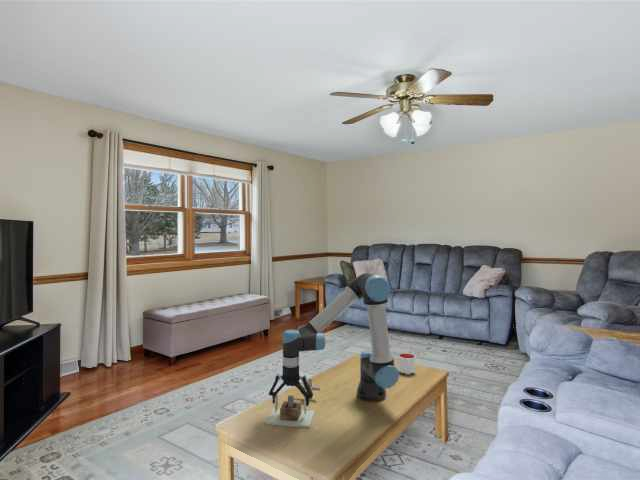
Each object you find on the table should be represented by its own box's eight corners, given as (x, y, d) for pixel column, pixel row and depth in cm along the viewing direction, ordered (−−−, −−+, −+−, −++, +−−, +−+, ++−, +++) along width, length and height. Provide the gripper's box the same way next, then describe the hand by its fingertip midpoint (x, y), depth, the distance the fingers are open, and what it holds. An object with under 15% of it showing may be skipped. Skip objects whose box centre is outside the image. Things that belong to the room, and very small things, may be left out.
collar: (301, 412, 176) (301, 402, 176) (297, 421, 168) (297, 410, 168) (284, 411, 177) (284, 401, 177) (280, 419, 170) (280, 408, 169)
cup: (405, 368, 239) (405, 352, 239) (418, 372, 232) (418, 356, 231) (394, 371, 233) (394, 355, 233) (408, 376, 225) (408, 359, 225)
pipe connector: (317, 403, 189) (317, 383, 189) (298, 401, 191) (298, 381, 191) (321, 394, 199) (321, 375, 199) (303, 393, 201) (303, 374, 201)
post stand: (314, 413, 178) (315, 391, 178) (309, 428, 165) (309, 405, 164) (273, 409, 181) (273, 389, 181) (265, 424, 167) (265, 401, 167)
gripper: (319, 363, 174) (319, 409, 175) (266, 360, 178) (266, 405, 178) (316, 369, 167) (316, 417, 167) (261, 366, 171) (261, 413, 171)
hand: (290, 411), depth 173 cm, fingers open, 13 cm apart
